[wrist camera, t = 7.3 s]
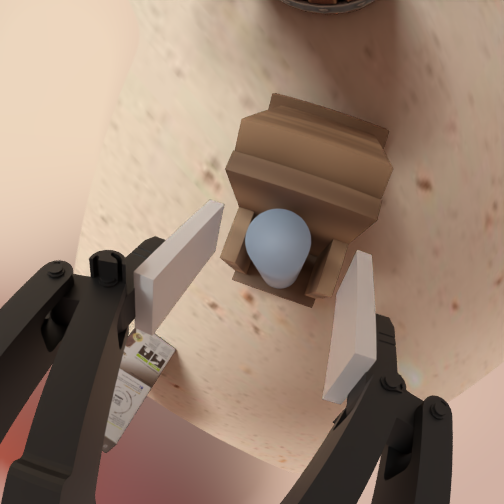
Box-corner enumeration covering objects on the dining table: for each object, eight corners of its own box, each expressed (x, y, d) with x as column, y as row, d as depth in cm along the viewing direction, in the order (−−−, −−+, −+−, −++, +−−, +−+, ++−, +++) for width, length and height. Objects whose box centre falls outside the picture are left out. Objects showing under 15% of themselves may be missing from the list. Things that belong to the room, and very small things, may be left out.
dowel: (267, 246, 28) (256, 201, 16) (303, 257, 28) (318, 218, 16) (256, 282, 28) (236, 262, 16) (292, 293, 27) (300, 281, 15)
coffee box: (138, 320, 41) (69, 410, 27) (177, 349, 41) (118, 445, 28) (122, 349, 46) (65, 426, 32) (156, 373, 46) (105, 455, 33)
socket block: (275, 93, 23) (219, 101, 13) (387, 129, 22) (420, 166, 12) (235, 258, 32) (181, 344, 22) (323, 289, 30) (304, 389, 20)
